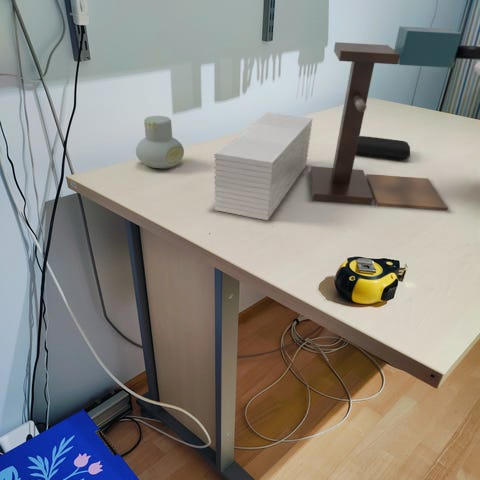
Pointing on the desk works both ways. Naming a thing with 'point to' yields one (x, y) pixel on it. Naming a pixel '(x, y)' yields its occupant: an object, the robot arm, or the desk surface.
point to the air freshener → (159, 144)
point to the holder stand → (351, 127)
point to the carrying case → (383, 148)
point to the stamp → (432, 47)
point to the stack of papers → (261, 165)
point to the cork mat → (404, 192)
